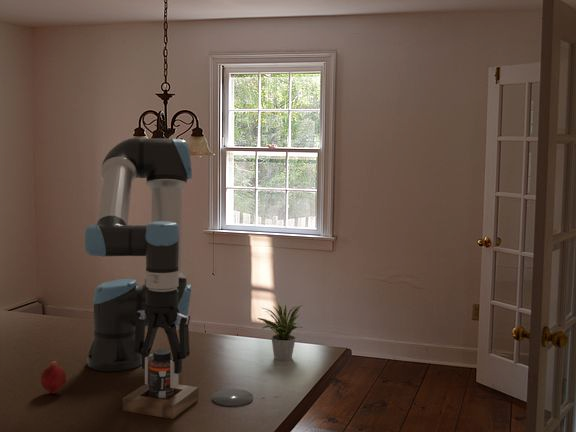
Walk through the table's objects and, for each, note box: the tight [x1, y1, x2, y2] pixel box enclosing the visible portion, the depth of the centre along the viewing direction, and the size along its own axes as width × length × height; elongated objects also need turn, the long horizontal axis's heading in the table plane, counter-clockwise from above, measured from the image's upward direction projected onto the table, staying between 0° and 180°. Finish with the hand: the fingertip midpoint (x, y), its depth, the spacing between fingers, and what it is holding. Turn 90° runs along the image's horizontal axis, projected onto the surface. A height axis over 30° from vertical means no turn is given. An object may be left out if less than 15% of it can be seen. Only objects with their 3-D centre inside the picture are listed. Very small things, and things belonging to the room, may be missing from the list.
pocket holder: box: [122, 383, 199, 420], centre depth 161 cm, size 13×13×3 cm
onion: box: [40, 361, 67, 394], centre depth 166 cm, size 6×6×8 cm
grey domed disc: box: [211, 388, 254, 407], centre depth 166 cm, size 10×10×1 cm
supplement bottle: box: [149, 349, 174, 400], centre depth 160 cm, size 6×6×11 cm
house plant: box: [257, 303, 304, 362], centre depth 200 cm, size 14×14×16 cm
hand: (161, 384), depth 161 cm, fingers closed on supplement bottle, 6 cm apart
